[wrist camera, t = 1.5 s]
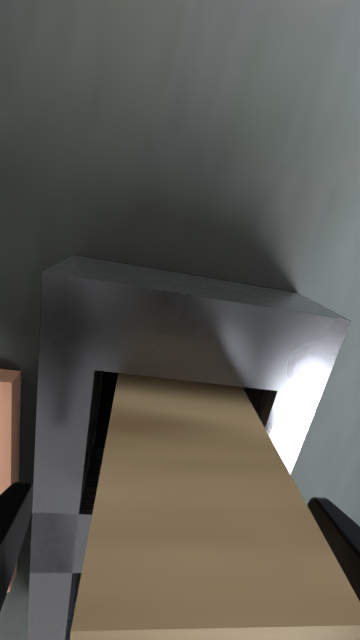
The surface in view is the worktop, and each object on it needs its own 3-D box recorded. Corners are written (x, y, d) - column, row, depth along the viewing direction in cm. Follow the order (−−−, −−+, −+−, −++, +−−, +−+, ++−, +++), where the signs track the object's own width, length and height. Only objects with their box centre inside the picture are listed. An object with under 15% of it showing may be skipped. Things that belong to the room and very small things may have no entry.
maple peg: (205, 441, 13) (286, 761, 5) (110, 433, 12) (52, 784, 5) (227, 359, 12) (372, 624, 4) (123, 345, 11) (70, 630, 3)
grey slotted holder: (197, 603, 17) (208, 683, 14) (47, 605, 15) (24, 693, 12) (298, 293, 11) (350, 320, 8) (72, 254, 10) (42, 271, 7)
